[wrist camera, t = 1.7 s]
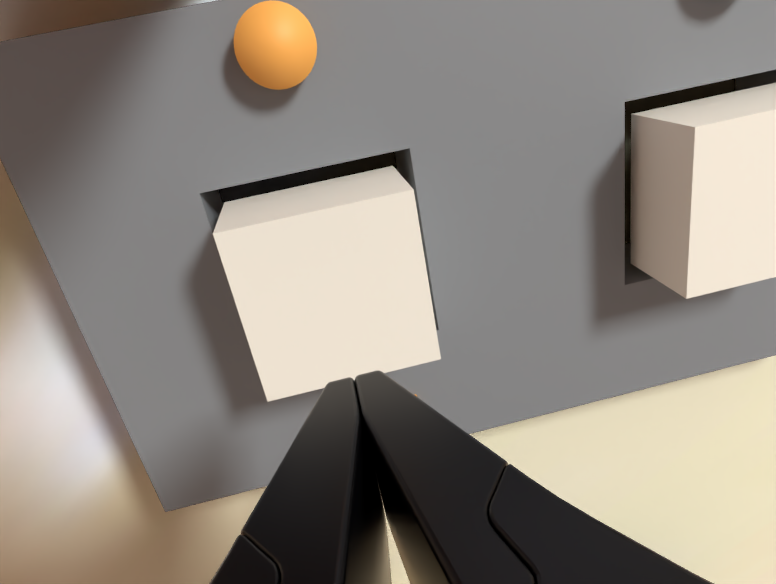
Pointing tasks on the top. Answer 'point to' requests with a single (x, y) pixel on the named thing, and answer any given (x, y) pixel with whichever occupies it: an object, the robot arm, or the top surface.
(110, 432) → the top surface
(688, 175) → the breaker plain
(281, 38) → the breaker panel
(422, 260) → the cream square block
